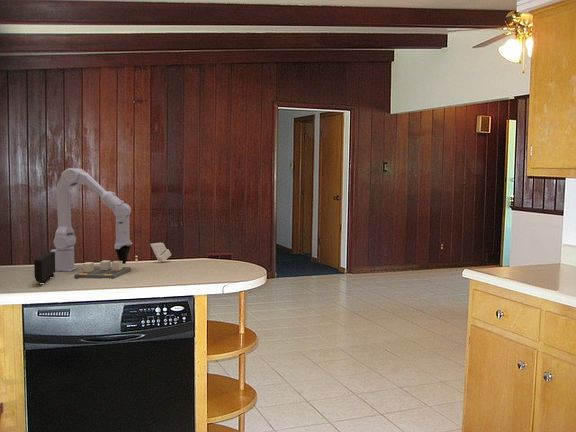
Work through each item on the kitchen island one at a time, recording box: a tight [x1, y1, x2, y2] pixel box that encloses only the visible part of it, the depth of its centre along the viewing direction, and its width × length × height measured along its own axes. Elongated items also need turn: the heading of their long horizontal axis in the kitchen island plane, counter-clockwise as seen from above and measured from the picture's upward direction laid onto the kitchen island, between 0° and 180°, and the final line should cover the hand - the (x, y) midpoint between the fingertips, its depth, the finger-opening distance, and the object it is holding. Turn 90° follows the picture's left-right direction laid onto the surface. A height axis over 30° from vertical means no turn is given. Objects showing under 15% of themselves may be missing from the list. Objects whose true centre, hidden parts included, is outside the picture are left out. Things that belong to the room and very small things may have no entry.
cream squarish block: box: [111, 260, 123, 271], centre depth 238 cm, size 3×4×4 cm
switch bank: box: [74, 265, 132, 280], centre depth 237 cm, size 16×20×2 cm
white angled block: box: [149, 242, 172, 263], centre depth 271 cm, size 4×10×9 cm, turn 143°
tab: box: [99, 259, 112, 270], centre depth 238 cm, size 3×4×4 cm
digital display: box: [33, 251, 56, 284], centre depth 221 cm, size 21×3×10 cm, turn 10°
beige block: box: [82, 261, 95, 273], centre depth 233 cm, size 3×4×4 cm
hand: (122, 263), depth 245 cm, fingers closed
